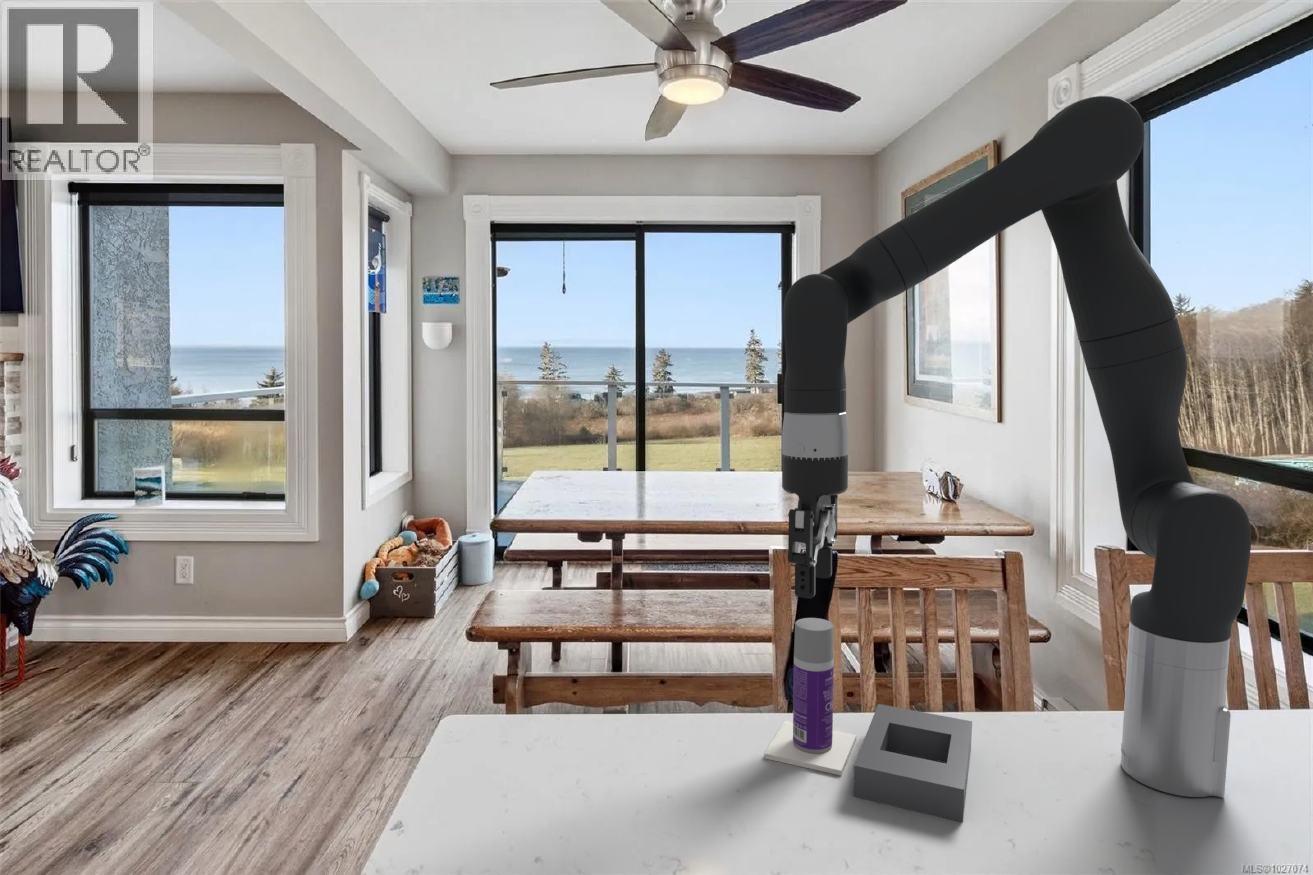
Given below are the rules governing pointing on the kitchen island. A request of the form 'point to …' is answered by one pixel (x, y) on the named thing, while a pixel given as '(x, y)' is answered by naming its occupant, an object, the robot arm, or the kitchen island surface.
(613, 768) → the kitchen island surface
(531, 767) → the kitchen island surface
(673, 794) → the kitchen island surface
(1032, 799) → the kitchen island surface
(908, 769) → the socket block
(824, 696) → the container
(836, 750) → the tile
